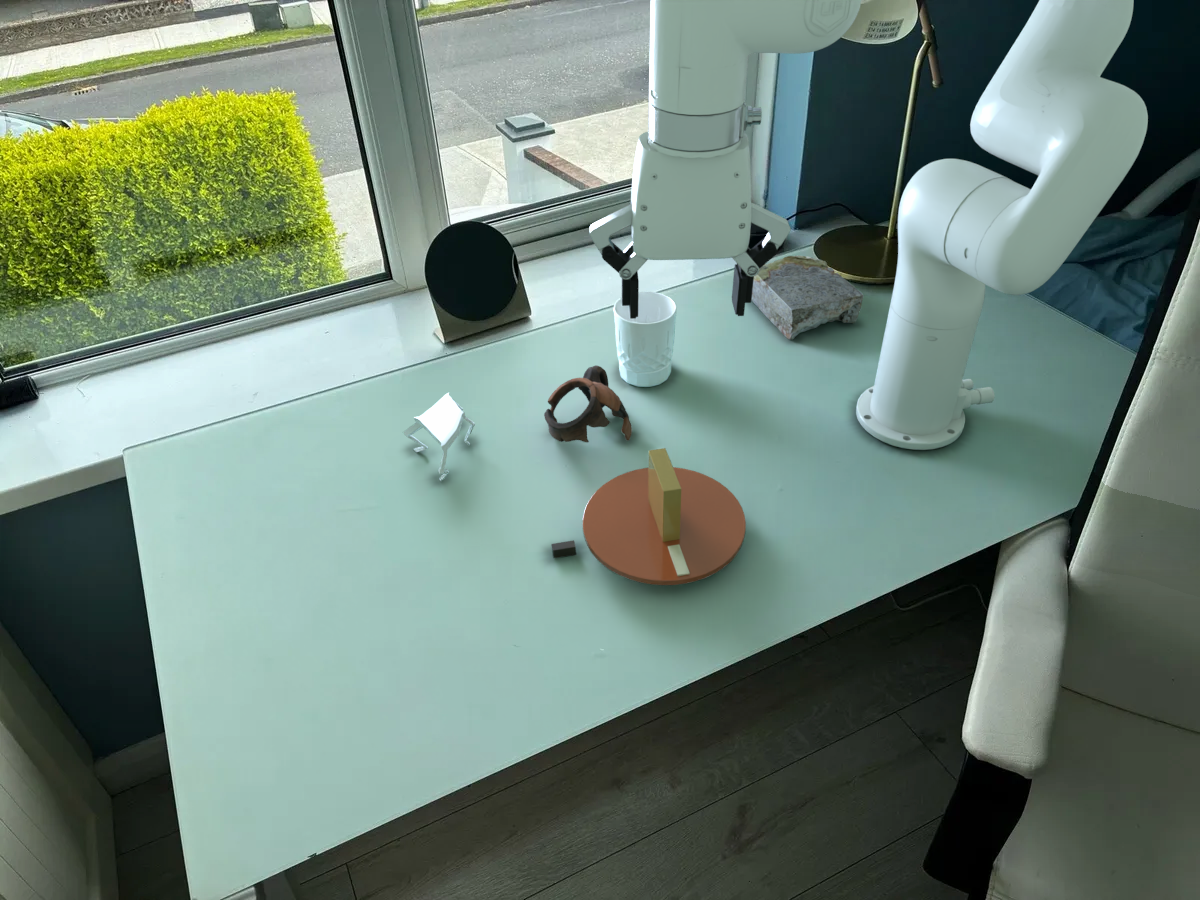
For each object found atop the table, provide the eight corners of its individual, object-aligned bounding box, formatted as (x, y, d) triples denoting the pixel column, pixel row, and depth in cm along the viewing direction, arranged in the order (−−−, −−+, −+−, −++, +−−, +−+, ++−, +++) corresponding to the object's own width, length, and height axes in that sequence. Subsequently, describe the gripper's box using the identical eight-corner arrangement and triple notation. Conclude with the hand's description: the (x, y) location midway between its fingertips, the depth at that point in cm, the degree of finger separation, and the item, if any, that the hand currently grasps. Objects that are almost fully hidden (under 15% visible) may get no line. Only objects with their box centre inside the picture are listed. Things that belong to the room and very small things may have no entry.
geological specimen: (796, 314, 119) (743, 259, 130) (792, 350, 124) (740, 295, 134) (866, 294, 122) (808, 242, 132) (859, 331, 126) (804, 278, 137)
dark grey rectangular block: (696, 498, 100) (696, 487, 99) (722, 563, 92) (723, 552, 91) (545, 522, 98) (544, 511, 97) (560, 590, 90) (559, 579, 89)
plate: (718, 461, 102) (722, 406, 97) (768, 569, 89) (775, 513, 84) (570, 483, 100) (566, 429, 95) (599, 598, 87) (596, 542, 82)
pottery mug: (636, 459, 106) (601, 421, 100) (568, 478, 110) (531, 442, 105) (640, 380, 113) (607, 341, 107) (576, 401, 117) (541, 363, 112)
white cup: (685, 366, 120) (687, 300, 113) (656, 397, 115) (656, 330, 108) (634, 350, 123) (634, 285, 117) (603, 379, 118) (601, 313, 112)
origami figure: (401, 434, 111) (394, 402, 107) (467, 418, 113) (462, 386, 109) (420, 495, 102) (413, 462, 99) (491, 477, 104) (487, 444, 101)
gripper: (794, 105, 75) (772, 287, 86) (586, 110, 75) (591, 291, 86) (812, 138, 69) (786, 329, 80) (587, 143, 69) (592, 333, 80)
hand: (685, 309), depth 83 cm, fingers open, 9 cm apart
